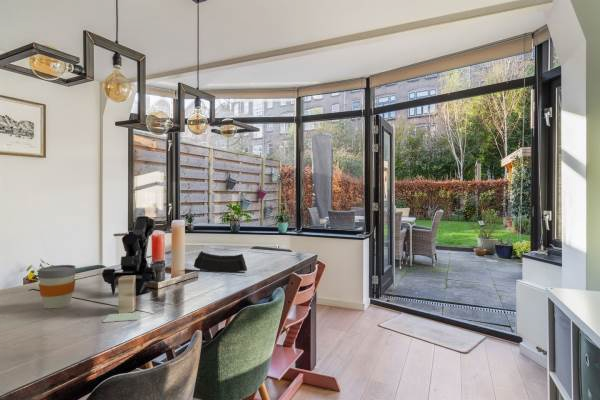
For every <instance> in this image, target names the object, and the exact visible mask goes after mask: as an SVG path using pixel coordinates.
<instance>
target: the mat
mask: <svg viewBox="0 0 600 400" xmlns="http://www.w3.org/2000/svg"><path fill="white" fill-rule="evenodd" d="M141 313H142V312H141V311H136V312H135V311H134V312H133V313H120V314H118V313H110V314H109V313H108V314H107V316H105V318H104V319H103V321H102V322H107V323H116V322H115V321H120V322H129V321H128V320H132V321H137V320H138V318H140V315H141Z"/></svg>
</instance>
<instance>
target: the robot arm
mask: <svg viewBox="0 0 600 400" xmlns="http://www.w3.org/2000/svg"><path fill="white" fill-rule="evenodd" d="M154 229H155V230H156V221H155V219H154V218H151V217H149V216H145V215H139V216H137V217H136V218H135V223H134V228H133V230H132V231H128V233H126V234H125V235H123V237H122V238H121V241H122V245H123V249H124V252H125V256H123V255H122V256H121V257H120V266H121V267H120V270H122V271H116V268H104V269H103V270H102V272H101V276H102V279H103V281H104V283H106V284H109V285H110V289H111V293H112V296H114V295H115V293H116V287H117V278H120V277H121V276H133V275H136V296H140V295H143V294H147V293H150V292H151V291H150V290H148V284H149V283H151V282H152V281H155V280H156V278H157V274H156V273H157V272H156V268H155V267H154V266H149V264H148V261H147V251H148V246H149V240H150V237H151V235H153V233H154Z"/></svg>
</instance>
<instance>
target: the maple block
mask: <svg viewBox="0 0 600 400" xmlns="http://www.w3.org/2000/svg"><path fill="white" fill-rule="evenodd" d="M117 280H118V283H117V284H118V286H117V287H118V288H117V289H118V290H117V291H118V292H117V293H118V296H117V297H118V298H117V299H118V302H117V303H118V305H117V309H118V310H117V311H118V313H128V312H129V313H130V312H133V311H134V312H135V310H136V307H137V306H136V301H137V298H136V296H137V295H136V275H133V276H121V277H118V279H117ZM118 313H117V314H118Z"/></svg>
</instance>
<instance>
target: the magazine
mask: <svg viewBox="0 0 600 400" xmlns="http://www.w3.org/2000/svg"><path fill="white" fill-rule="evenodd" d="M193 267H194V268H196V269H198V270H199V271H200V272H201V271H206V272H215V273H237V272H238V273H239V272H246V271H248V268H247V264H246V261H245V257H244V254H243V253H240V254H236V255H220V254H211V253H207V252H203V250H202V251H200V252H199V254H197V257H196V258H195V261H194V264H193Z"/></svg>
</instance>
